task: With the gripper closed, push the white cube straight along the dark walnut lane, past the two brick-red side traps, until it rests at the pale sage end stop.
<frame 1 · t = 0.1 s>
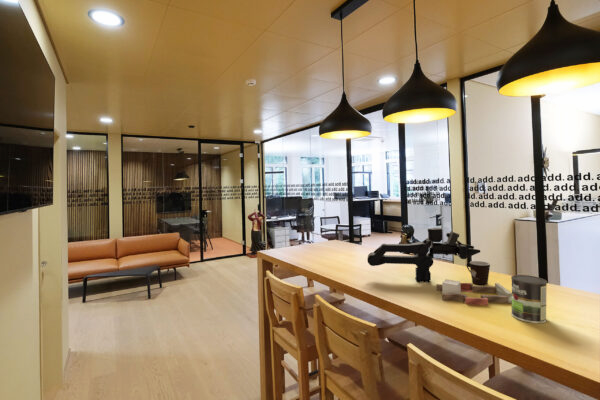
hand: (476, 249, 150), 17 cm above the table, tool horizontal, fingers open, 9 cm apart
coffee can: (528, 317, 111), on the table
trap lane: (471, 296, 133), on the table
coffee mug: (478, 282, 151), on the table
white cube: (451, 295, 135), on the table
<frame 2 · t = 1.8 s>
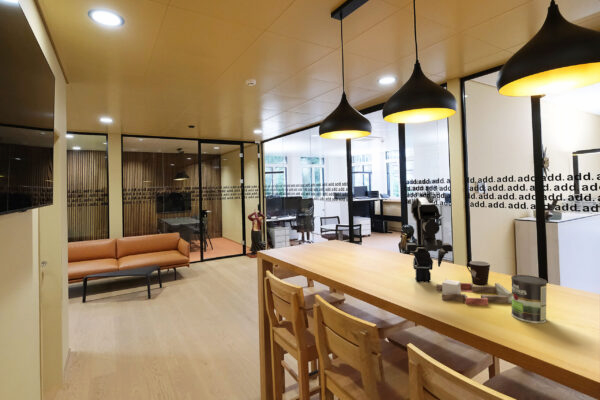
hand: (428, 266, 136), 13 cm above the table, tool pointing down, fingers open, 8 cm apart
nothing on the table moved.
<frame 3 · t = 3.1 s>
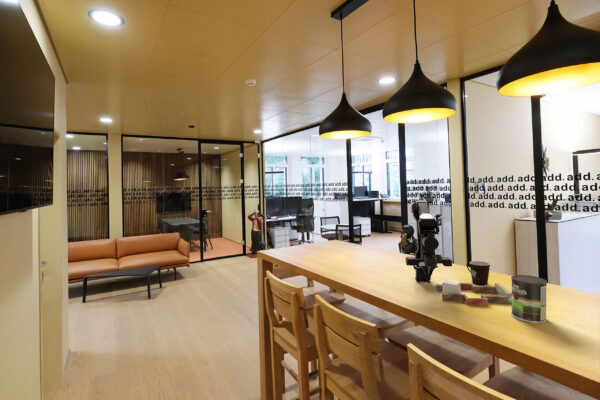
hand: (428, 280, 137), 6 cm above the table, tool pointing down, fingers closed
nothing on the table moved.
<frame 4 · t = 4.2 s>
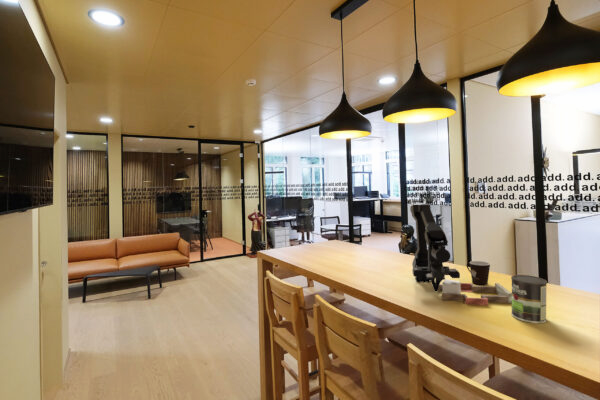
hand: (435, 291, 136), 1 cm above the table, tool pointing down, fingers closed
white cube: (451, 295, 135), on the table, touching gripper
everything else where it was.
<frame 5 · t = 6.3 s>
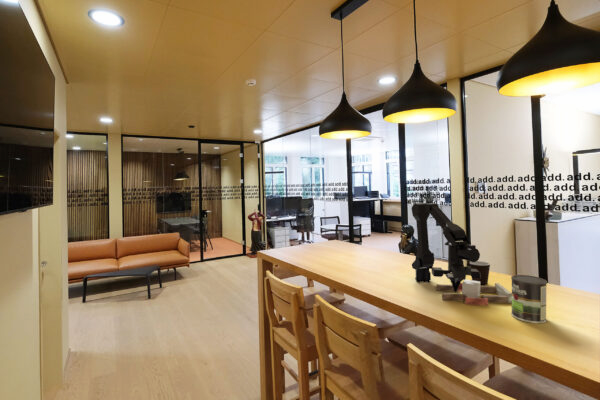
hand: (455, 292, 134), 1 cm above the table, tool pointing down, fingers closed
white cube: (471, 296, 133), on the table, touching gripper
everything else where it was.
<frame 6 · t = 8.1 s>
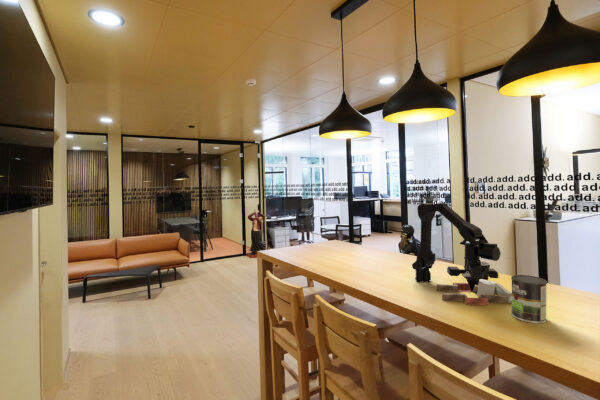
hand: (471, 291, 133), 2 cm above the table, tool pointing down, fingers closed
white cube: (485, 295, 132), on the table, touching gripper
everything else where it was.
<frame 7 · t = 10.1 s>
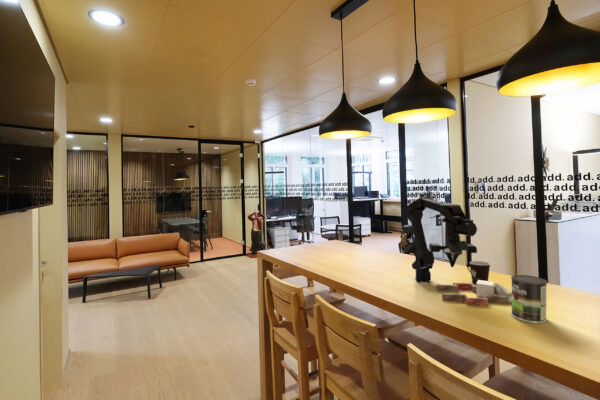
hand: (452, 266, 138), 12 cm above the table, tool pointing down, fingers closed
white cube: (485, 296, 133), on the table
everything else where it was.
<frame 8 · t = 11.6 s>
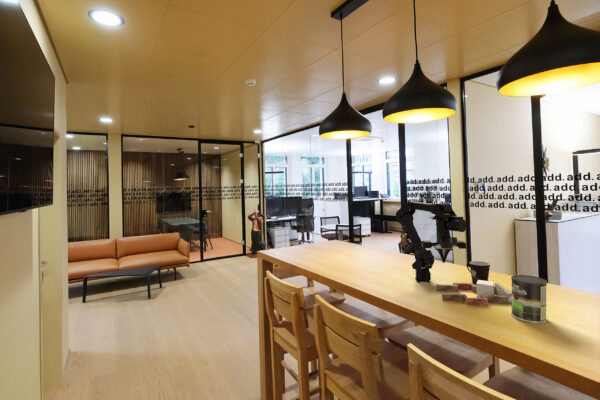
hand: (443, 262, 144), 12 cm above the table, tool pointing down, fingers closed
nothing on the table moved.
at the end: white cube inside the target area (1.8 cm from its centre), on the table; white cube tilted 2°; white cube moved 13.7 cm from its start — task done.
